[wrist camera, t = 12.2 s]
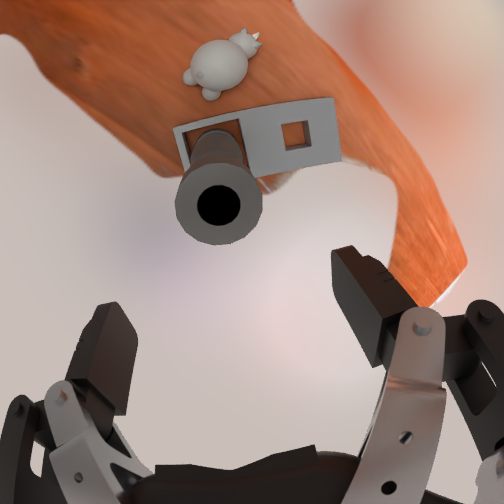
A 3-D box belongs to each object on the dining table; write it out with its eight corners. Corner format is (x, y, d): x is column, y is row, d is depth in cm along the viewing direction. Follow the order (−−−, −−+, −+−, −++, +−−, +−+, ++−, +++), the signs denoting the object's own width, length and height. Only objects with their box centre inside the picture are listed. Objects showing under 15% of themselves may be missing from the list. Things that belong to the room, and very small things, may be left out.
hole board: (175, 126, 36) (172, 128, 34) (325, 97, 37) (333, 97, 34) (192, 187, 42) (191, 193, 39) (334, 157, 42) (341, 161, 39)
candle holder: (240, 131, 38) (275, 165, 17) (233, 170, 41) (257, 252, 20) (198, 125, 37) (174, 153, 15) (193, 166, 40) (168, 244, 18)
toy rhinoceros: (261, 63, 35) (290, 42, 28) (209, 110, 34) (229, 92, 27) (229, 33, 32) (252, 7, 24) (172, 77, 31) (184, 52, 24)
